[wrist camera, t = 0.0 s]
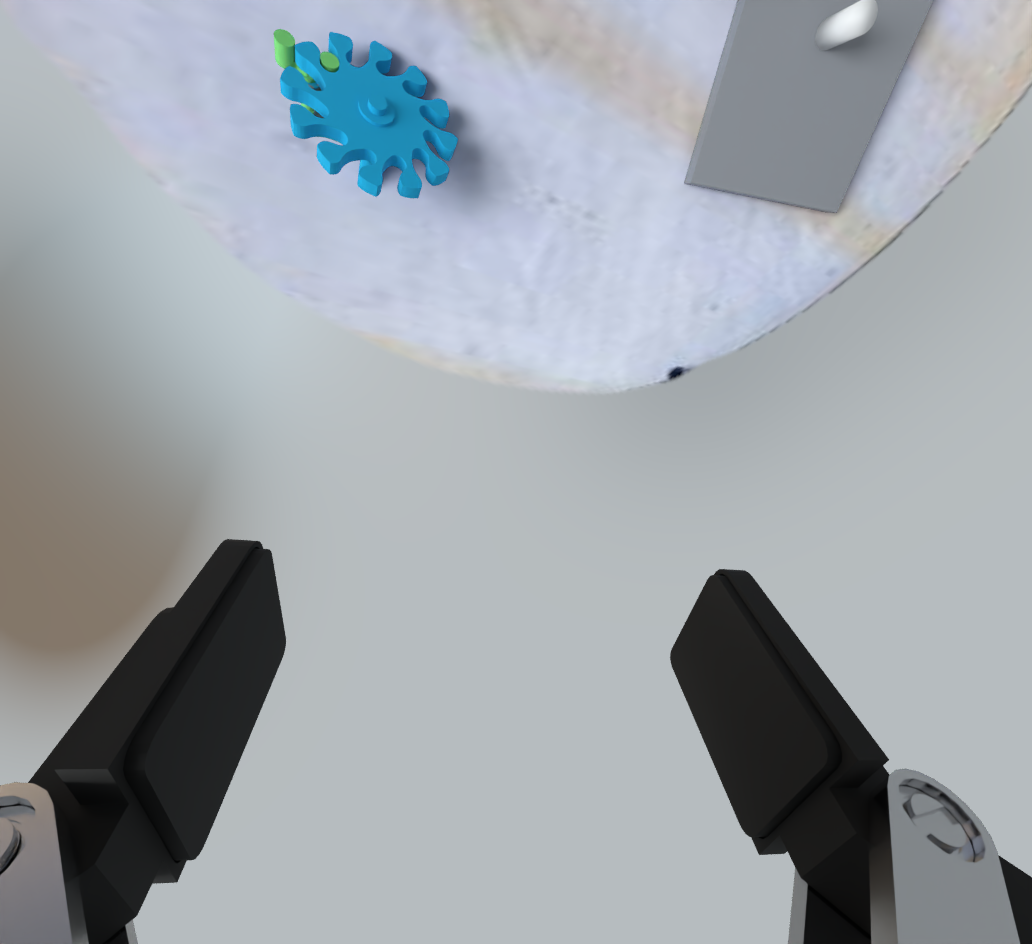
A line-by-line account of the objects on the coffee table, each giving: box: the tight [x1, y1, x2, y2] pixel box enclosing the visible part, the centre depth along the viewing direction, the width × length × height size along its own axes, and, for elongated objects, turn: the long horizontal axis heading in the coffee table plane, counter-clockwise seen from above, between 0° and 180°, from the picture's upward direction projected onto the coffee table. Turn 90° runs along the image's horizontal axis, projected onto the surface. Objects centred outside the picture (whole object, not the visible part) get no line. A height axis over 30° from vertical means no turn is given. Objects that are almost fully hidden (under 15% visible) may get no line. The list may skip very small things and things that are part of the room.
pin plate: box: [684, 0, 933, 213], centre depth 27 cm, size 18×12×4 cm, turn 171°
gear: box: [274, 29, 458, 198], centre depth 28 cm, size 11×6×10 cm
